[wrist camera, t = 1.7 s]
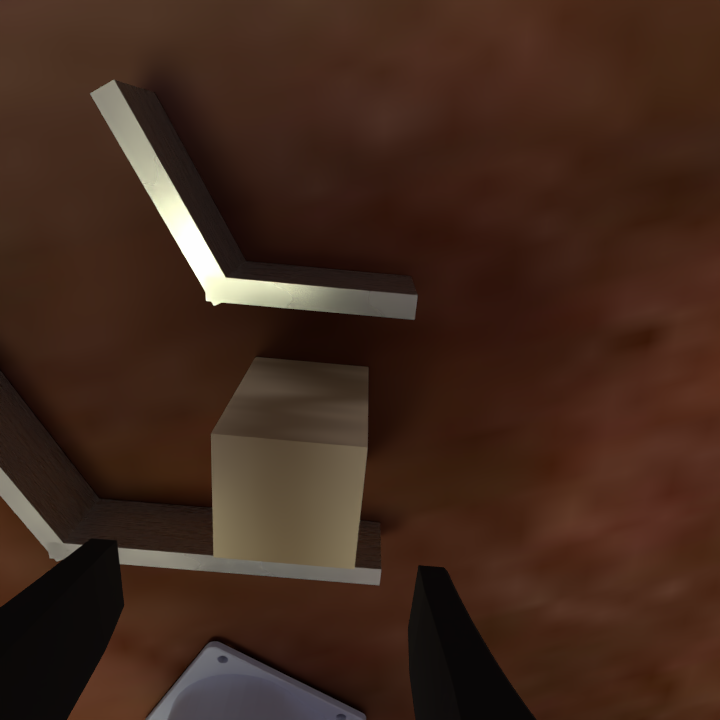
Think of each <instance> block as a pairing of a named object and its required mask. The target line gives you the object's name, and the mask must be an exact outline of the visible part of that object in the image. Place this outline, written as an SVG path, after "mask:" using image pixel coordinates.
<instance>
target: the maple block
mask: <svg viewBox="0 0 720 720" xmlns="http://www.w3.org/2000/svg"><path fill="white" fill-rule="evenodd" d="M368 374H369V367H363V366H352V365H341V364H330V363H319V362H308V361H296V360H285V359H274V358H263V357H255V359H254V361H253V362H252V364H251V366H250V368H249V369H248V371H247V373H246V374H245V376H244V378H243V380H242V381H241V383H240V385H239V386H238V388H237V390H236V392H235V393H234V395H233V397H232V399H231V400H230V402H229V404H228V405H227V407H226V409H225V411H224V412H223V414H222V416H221V417H220V419H219V421H218V423H217V424H216V426H215V428H214V429H213V431H212V433H211V459H212V509H213V557H215V558H227V559H239V560H251V561H263V562H274V563H286V564H298V565H310V566H322V567H334V568H345V569H354V568H355V559H356V550H357V541H358V532H359V523H360V514H361V504H362V495H363V486H364V477H365V468H366V459H367V450H368Z"/></svg>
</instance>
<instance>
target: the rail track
mask: <svg viewBox="0 0 720 720" xmlns="http://www.w3.org/2000/svg"><path fill="white" fill-rule="evenodd" d="M90 95H91V96H92V98H93V100H94V101H95V103H96V105H97V107H98V108H99V110H100V112H101V113H102V115H103V117H104V119H105V120H106V122H107V124H108V125H109V127H110V129H111V131H112V132H113V134H114V136H115V137H116V139H117V141H118V143H119V144H120V146H121V148H122V149H123V151H124V153H125V155H126V156H127V158H128V160H129V161H130V163H131V165H132V167H133V168H134V170H135V172H136V173H137V175H138V177H139V179H140V180H141V182H142V184H143V185H144V187H145V189H146V191H147V192H148V194H149V196H150V197H151V199H152V201H153V203H154V204H155V206H156V208H157V209H158V211H159V213H160V215H161V216H162V218H163V220H164V221H165V223H166V225H167V227H168V228H169V230H170V232H171V233H172V235H173V237H174V239H175V240H176V242H177V244H178V245H179V247H180V249H181V251H182V252H183V254H184V256H185V257H186V259H187V261H188V263H189V264H190V266H191V268H192V269H193V271H194V273H195V275H196V276H197V278H198V280H199V281H200V283H201V285H202V287H203V288H204V290H205V292H206V301H211V302H212V304H213V305H214V306H215V305H217V304H219V303H222V302H223V303H234V304H245V305H256V306H267V307H278V308H289V309H300V310H311V311H322V312H333V313H344V314H355V315H366V316H378V317H389V318H400V319H411V320H415V313H416V305H417V298H418V294H417V292H416V289H415V286H414V283H413V280H412V278H411V276H402V275H392V274H381V273H370V272H359V271H348V270H337V269H326V268H315V267H305V266H294V265H283V264H272V263H261V262H250V261H246V260H245V258H244V257H243V255H242V253H241V251H240V249H239V247H238V245H237V244H236V242H235V240H234V238H233V236H232V234H231V233H230V231H229V229H228V227H227V225H226V223H225V221H224V220H223V218H222V216H221V214H220V212H219V210H218V209H217V207H216V205H215V203H214V201H213V199H212V198H211V196H210V194H209V192H208V190H207V188H206V186H205V185H204V183H203V181H202V179H201V177H200V175H199V174H198V172H197V170H196V168H195V166H194V164H193V163H192V161H191V159H190V157H189V155H188V153H187V151H186V150H185V148H184V146H183V144H182V142H181V140H180V139H179V137H178V135H177V133H176V131H175V129H174V127H173V126H172V124H171V122H170V120H169V118H168V116H167V115H166V113H165V111H164V109H163V107H162V105H161V104H160V102H159V100H158V98H157V96H156V94H155V92H152V91H149V90H145V89H142V88H139V87H136V86H133V85H129V84H126V83H123V82H120V81H117V80H113V81H111V82H109V83H107V84H106V85H104V86H102V87H101V88H99V89H97V90H95V91H94V92H92V93H90ZM0 496H1V497H2V498H3V499H4V500H5V502H6V503H7V504H8V505H9V506H10V507H11V509H12V510H13V511H14V512H15V513H16V514H17V516H18V517H19V518H20V519H21V520H22V521H23V523H24V524H25V525H26V526H27V527H28V528H29V530H30V531H31V532H32V533H33V534H34V536H35V537H36V538H37V539H38V540H39V541H40V543H41V544H42V545H43V546H44V547H45V548H46V550H47V551H48V552H49V557H50V558H54V559H55V560H56V561H60V560H62V559H65V558H66V557H67V556H69V555H70V554H71V553H73V552H74V551H75V550H77V549H78V548H79V547H80V546H82V545H83V544H84V543H86V542H87V541H88V540H90V539H91V538H95V539H107V540H117V544H118V553H119V562H120V564H127V565H139V566H151V567H163V568H175V569H188V570H200V571H212V572H224V573H236V574H248V575H261V576H273V577H285V578H297V579H309V580H321V581H334V582H346V583H358V584H370V585H379V584H380V576H381V539H380V522H372V521H360V523H359V532H358V541H357V550H356V559H355V568H354V569H345V568H334V567H322V566H310V565H298V564H286V563H274V562H263V561H251V560H239V559H227V558H215V557H213V509H212V508H206V507H194V506H182V505H170V504H158V503H146V502H134V501H122V500H110V499H99V498H98V496H97V495H96V494H95V492H94V491H93V490H92V489H91V487H90V486H89V485H88V483H87V482H86V481H85V480H84V478H83V477H82V476H81V474H80V473H79V472H78V470H77V469H76V468H75V467H74V465H73V464H72V463H71V461H70V460H69V459H68V458H67V456H66V455H65V454H64V452H63V451H62V450H61V448H60V447H59V446H58V445H57V443H56V442H55V441H54V439H53V438H52V437H51V436H50V434H49V433H48V432H47V430H46V429H45V428H44V426H43V425H42V424H41V423H40V421H39V420H38V419H37V417H36V416H35V415H34V414H33V412H32V411H31V410H30V408H29V407H28V406H27V404H26V403H25V402H24V401H23V399H22V398H21V397H20V395H19V394H18V393H17V392H16V390H15V389H14V388H13V386H12V385H11V384H10V382H9V381H8V380H7V379H6V377H5V376H4V375H3V373H2V372H1V371H0Z"/></svg>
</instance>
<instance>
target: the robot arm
mask: <svg viewBox="0 0 720 720" xmlns="http://www.w3.org/2000/svg"><path fill="white" fill-rule="evenodd" d="M123 607H124V599H123V590H122V581H121V572H120V562H119V553H118V544H117V540H107V539H95V538H91V539H90V540H88V541H87V542H86V543H84V544H83V545H82V546H80V547H79V548H78V549H77V550H75V551H74V552H73V553H71V554H70V555H69V556H67V557H66V558H65V559H64V560H62V561H61V562H60V563H58V564H57V565H56V566H55V567H53V568H52V569H51V570H49V571H48V572H47V573H45V574H44V575H43V576H42V577H40V578H39V579H38V580H36V581H35V582H34V583H32V584H31V585H30V586H28V587H27V588H26V589H24V590H23V591H22V592H20V593H19V594H18V595H16V596H15V597H14V598H12V599H11V600H10V601H8V602H7V603H6V604H4V605H3V606H2V607H0V720H67V718H68V716H69V715H70V713H71V711H72V709H73V708H74V706H75V704H76V702H77V700H78V699H79V697H80V695H81V693H82V692H83V690H84V688H85V686H86V684H87V683H88V681H89V679H90V677H91V675H92V674H93V672H94V670H95V668H96V666H97V665H98V663H99V661H100V659H101V657H102V655H103V654H104V652H105V650H106V647H107V645H108V643H109V641H110V638H111V636H112V634H113V631H114V629H115V627H116V624H117V622H118V619H119V617H120V614H121V612H122V609H123ZM408 643H409V671H410V681H411V689H412V696H413V704H414V711H415V719H416V720H536V718H535V717H534V716H533V714H532V713H531V712H530V710H529V709H528V708H527V706H526V705H525V704H524V702H523V701H522V699H521V698H520V696H519V695H518V694H517V692H516V691H515V689H514V688H513V686H512V685H511V683H510V682H509V680H508V679H507V677H506V676H505V674H504V673H503V671H502V670H501V668H500V667H499V665H498V663H497V662H496V660H495V659H494V657H493V655H492V654H491V652H490V650H489V649H488V647H487V645H486V644H485V642H484V640H483V639H482V637H481V635H480V634H479V632H478V630H477V628H476V627H475V625H474V623H473V621H472V619H471V618H470V616H469V614H468V612H467V610H466V608H465V606H464V605H463V603H462V601H461V599H460V597H459V595H458V593H457V591H456V589H455V587H454V584H453V582H452V580H451V578H450V576H449V574H448V572H447V570H446V569H445V568H444V567H432V566H420V565H419V566H418V572H417V578H416V584H415V590H414V596H413V602H412V608H411V614H410V620H409V626H408ZM145 720H366V716H365V714H363V713H362V712H360V711H358V710H356V709H354V708H352V707H350V706H348V705H346V704H344V703H342V702H340V701H338V700H336V699H334V698H332V697H330V696H328V695H326V694H324V693H322V692H320V691H317V690H315V689H313V688H311V687H309V686H307V685H305V684H303V683H301V682H299V681H297V680H295V679H293V678H291V677H289V676H287V675H285V674H283V673H281V672H279V671H277V670H275V669H273V668H271V667H269V666H267V665H265V664H263V663H261V662H259V661H257V660H255V659H253V658H251V657H249V656H247V655H245V654H243V653H241V652H239V651H237V650H235V649H233V648H231V647H229V646H227V645H225V644H223V643H221V642H218V641H213V642H209V643H208V644H207V645H206V646H205V647H204V649H203V650H202V651H201V652H200V653H199V655H198V656H197V657H196V658H195V660H194V661H193V662H192V663H191V664H190V666H189V667H188V668H187V669H186V671H185V672H184V673H183V674H182V675H181V677H180V678H179V679H178V680H177V681H176V683H175V684H174V685H173V686H172V688H171V689H170V690H169V691H168V692H167V694H166V695H165V696H164V697H163V698H162V700H161V701H160V702H159V703H158V705H157V706H156V707H155V708H154V709H153V711H152V712H151V713H150V714H149V716H148V717H147V718H146V719H145Z"/></svg>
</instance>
